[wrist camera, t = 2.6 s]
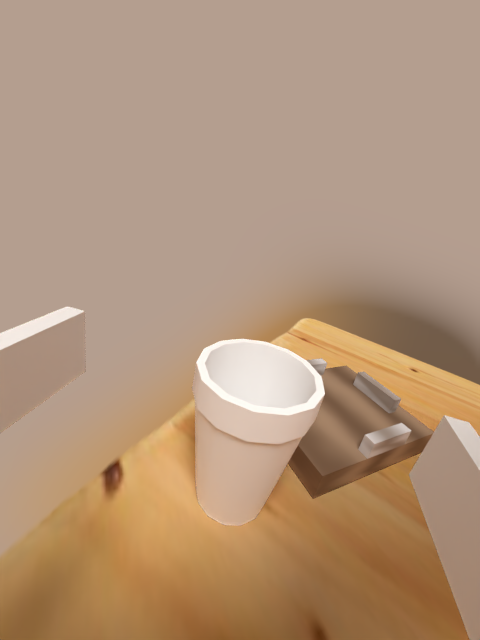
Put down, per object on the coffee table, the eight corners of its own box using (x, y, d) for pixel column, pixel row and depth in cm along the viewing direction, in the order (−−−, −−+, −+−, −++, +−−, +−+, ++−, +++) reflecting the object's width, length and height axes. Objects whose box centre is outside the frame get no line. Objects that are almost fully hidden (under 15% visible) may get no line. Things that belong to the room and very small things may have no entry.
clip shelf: (340, 381, 47) (350, 354, 45) (424, 451, 36) (442, 419, 34) (242, 399, 39) (250, 367, 37) (313, 498, 27) (329, 460, 26)
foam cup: (155, 509, 24) (170, 377, 19) (207, 435, 32) (227, 328, 27) (265, 571, 21) (316, 437, 16) (291, 473, 30) (330, 364, 24)
